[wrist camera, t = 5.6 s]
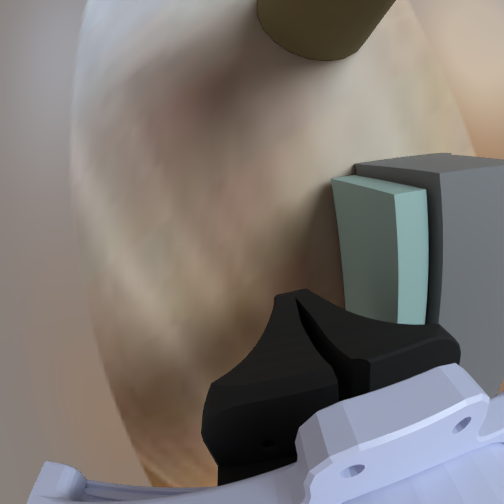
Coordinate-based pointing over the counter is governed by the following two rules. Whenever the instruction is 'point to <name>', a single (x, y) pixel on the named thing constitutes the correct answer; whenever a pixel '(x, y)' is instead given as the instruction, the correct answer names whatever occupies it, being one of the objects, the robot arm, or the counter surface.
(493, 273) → the cupboard
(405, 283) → the sage green bent plank
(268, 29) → the cork
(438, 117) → the counter surface
